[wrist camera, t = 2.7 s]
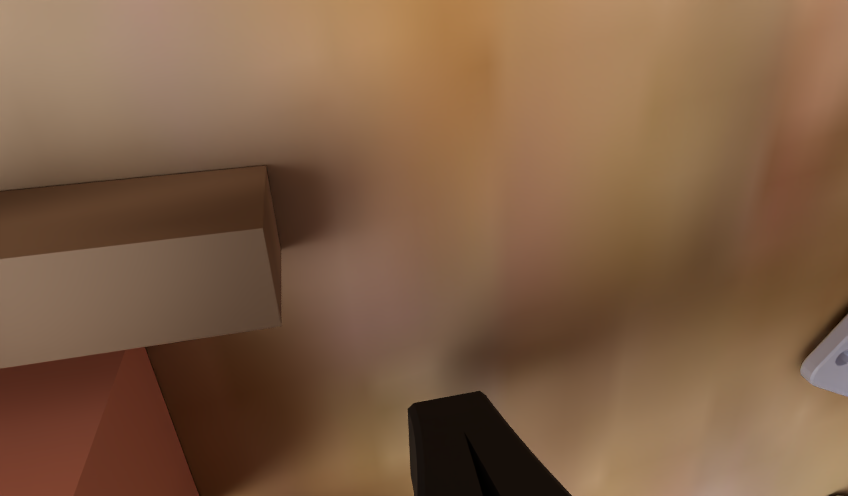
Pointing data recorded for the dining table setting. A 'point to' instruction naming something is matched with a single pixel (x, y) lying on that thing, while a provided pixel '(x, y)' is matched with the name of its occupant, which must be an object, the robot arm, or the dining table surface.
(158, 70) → the dining table surface
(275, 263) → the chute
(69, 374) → the block
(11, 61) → the dining table surface
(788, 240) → the dining table surface
